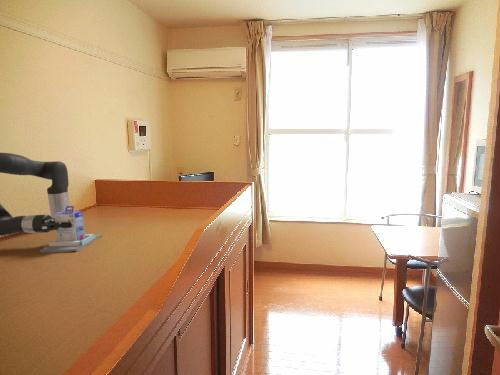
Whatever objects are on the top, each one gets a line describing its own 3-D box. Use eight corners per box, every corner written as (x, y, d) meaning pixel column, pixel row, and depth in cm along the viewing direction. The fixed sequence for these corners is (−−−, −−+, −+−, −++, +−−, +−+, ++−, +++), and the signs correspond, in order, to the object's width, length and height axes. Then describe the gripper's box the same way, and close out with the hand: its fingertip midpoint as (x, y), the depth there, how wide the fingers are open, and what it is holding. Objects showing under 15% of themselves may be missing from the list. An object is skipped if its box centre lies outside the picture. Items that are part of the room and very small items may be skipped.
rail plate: (69, 237, 157) (69, 232, 157) (101, 236, 156) (101, 231, 156) (40, 252, 138) (39, 246, 137) (76, 251, 137) (76, 245, 136)
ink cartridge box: (86, 238, 148) (82, 205, 146) (78, 242, 143) (73, 208, 141) (66, 238, 150) (62, 205, 148) (57, 242, 145) (52, 208, 143)
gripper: (24, 219, 139) (64, 218, 138) (47, 211, 153) (84, 210, 152) (26, 237, 140) (66, 236, 139) (49, 227, 154) (86, 226, 153)
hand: (75, 222), depth 145 cm, fingers closed on ink cartridge box, 6 cm apart
